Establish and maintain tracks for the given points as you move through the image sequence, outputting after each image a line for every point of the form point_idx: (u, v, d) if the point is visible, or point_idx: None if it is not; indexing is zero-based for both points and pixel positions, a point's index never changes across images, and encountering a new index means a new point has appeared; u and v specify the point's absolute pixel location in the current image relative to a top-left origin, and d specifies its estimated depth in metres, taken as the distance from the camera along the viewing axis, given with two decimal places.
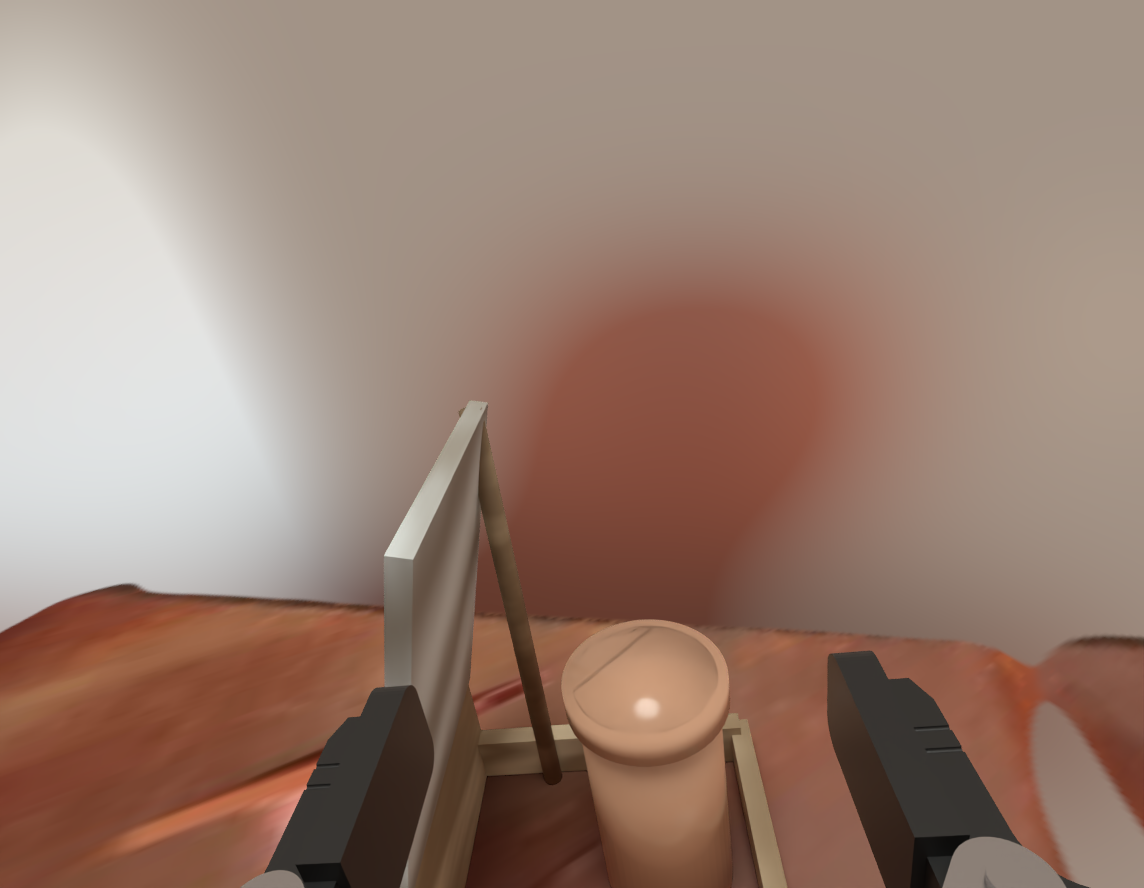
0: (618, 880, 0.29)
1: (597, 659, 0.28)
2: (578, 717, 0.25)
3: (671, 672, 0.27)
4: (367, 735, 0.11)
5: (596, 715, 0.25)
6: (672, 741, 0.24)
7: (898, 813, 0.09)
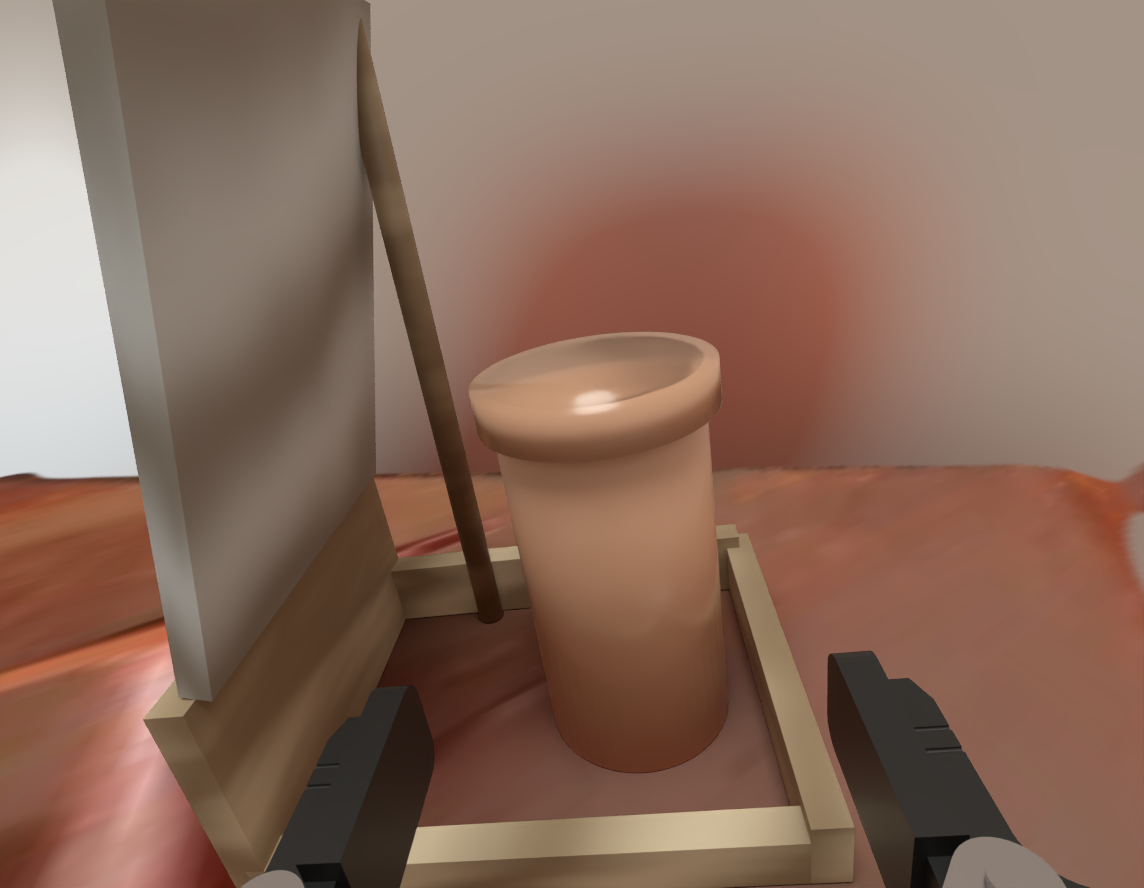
0: (562, 701, 0.20)
1: (528, 364, 0.19)
2: (487, 405, 0.16)
3: (634, 362, 0.18)
4: (367, 735, 0.11)
5: (514, 401, 0.16)
6: (627, 410, 0.15)
7: (898, 813, 0.09)
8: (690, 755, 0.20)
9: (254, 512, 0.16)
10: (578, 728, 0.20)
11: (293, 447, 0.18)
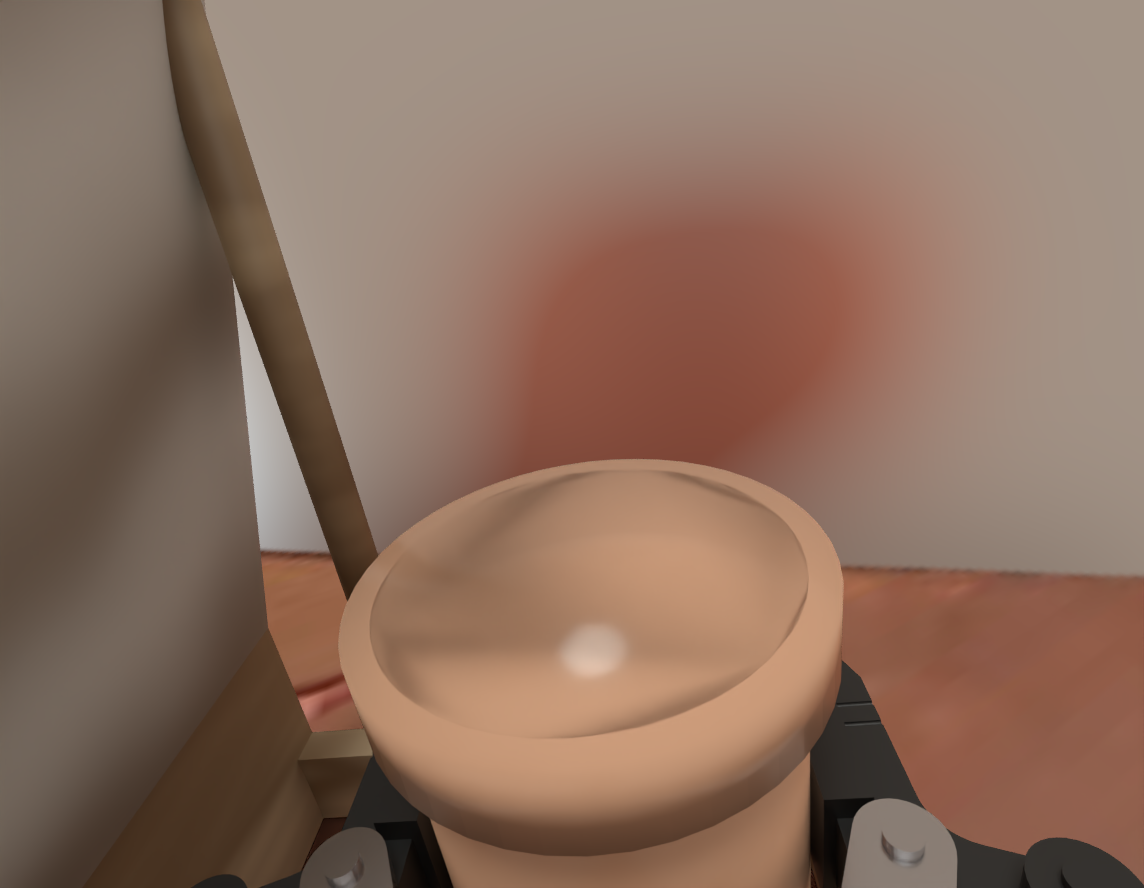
0: None
1: (469, 537, 0.10)
2: (359, 682, 0.08)
3: (665, 558, 0.09)
4: None
5: (416, 676, 0.08)
6: (662, 763, 0.06)
7: (814, 779, 0.10)
8: None
9: None
10: None
11: (18, 711, 0.10)
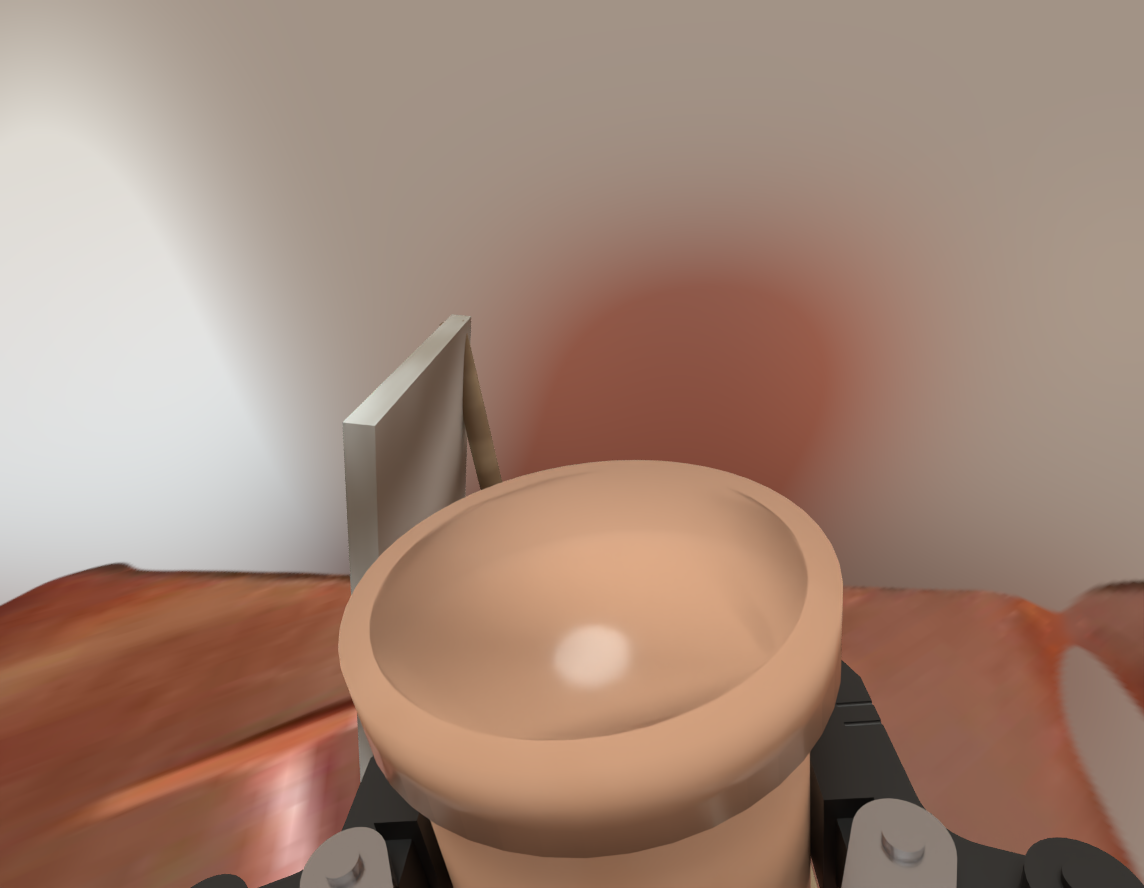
0: None
1: (468, 539, 0.10)
2: (359, 684, 0.08)
3: (665, 559, 0.09)
4: None
5: (416, 678, 0.08)
6: (662, 765, 0.06)
7: (814, 779, 0.10)
8: None
9: None
10: None
11: None
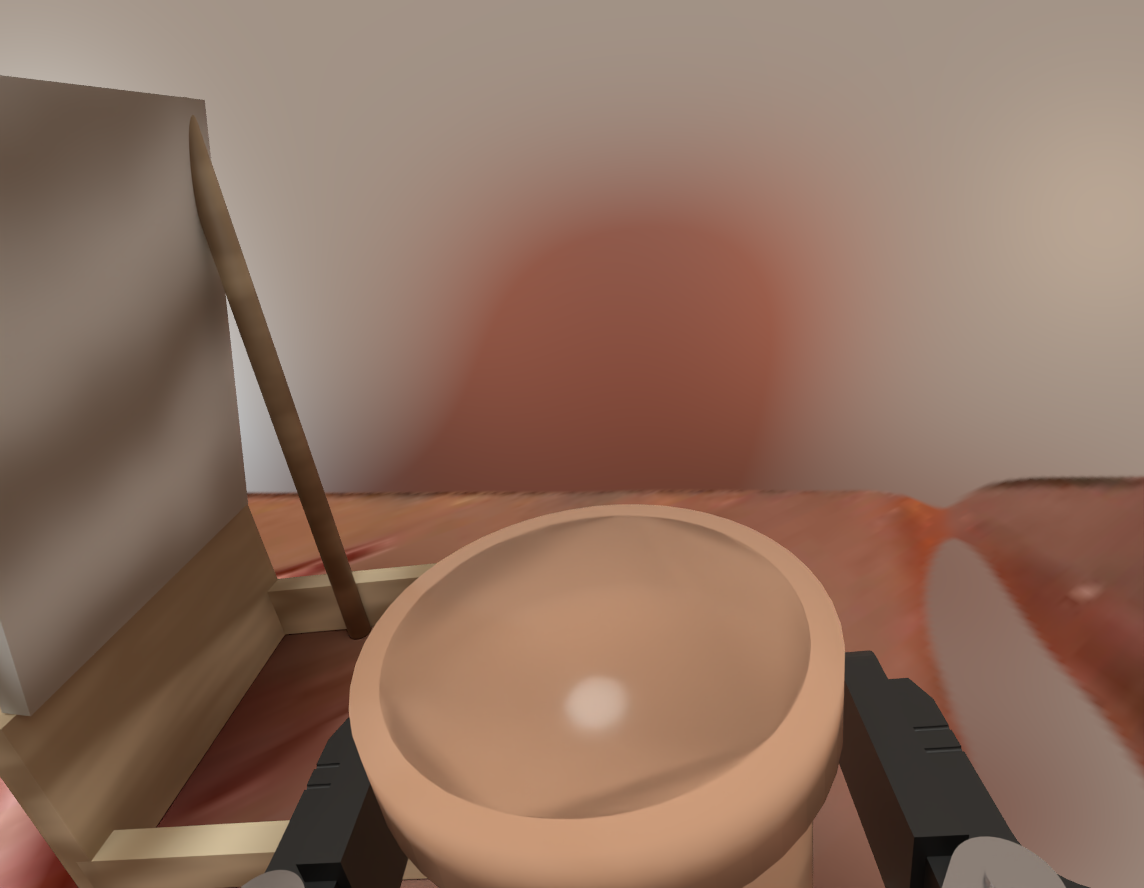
0: None
1: (475, 591, 0.11)
2: (370, 752, 0.08)
3: (669, 618, 0.09)
4: None
5: (426, 747, 0.08)
6: (668, 848, 0.06)
7: (897, 813, 0.09)
8: None
9: (75, 553, 0.19)
10: None
11: (125, 493, 0.21)
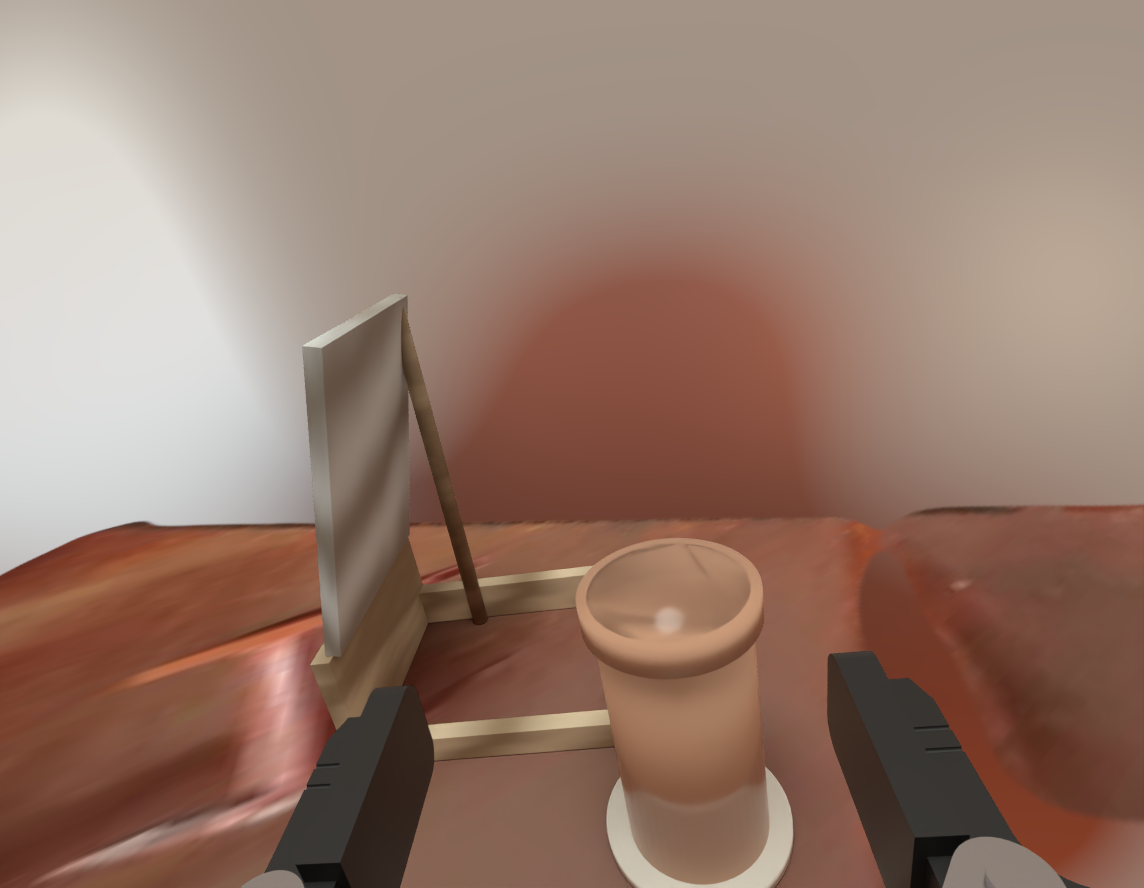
0: (642, 827, 0.26)
1: (615, 576, 0.25)
2: (595, 629, 0.23)
3: (698, 584, 0.24)
4: (367, 735, 0.11)
5: (615, 626, 0.23)
6: (700, 647, 0.21)
7: (898, 813, 0.09)
8: (742, 870, 0.26)
9: (357, 566, 0.34)
10: (654, 849, 0.26)
11: (372, 531, 0.36)
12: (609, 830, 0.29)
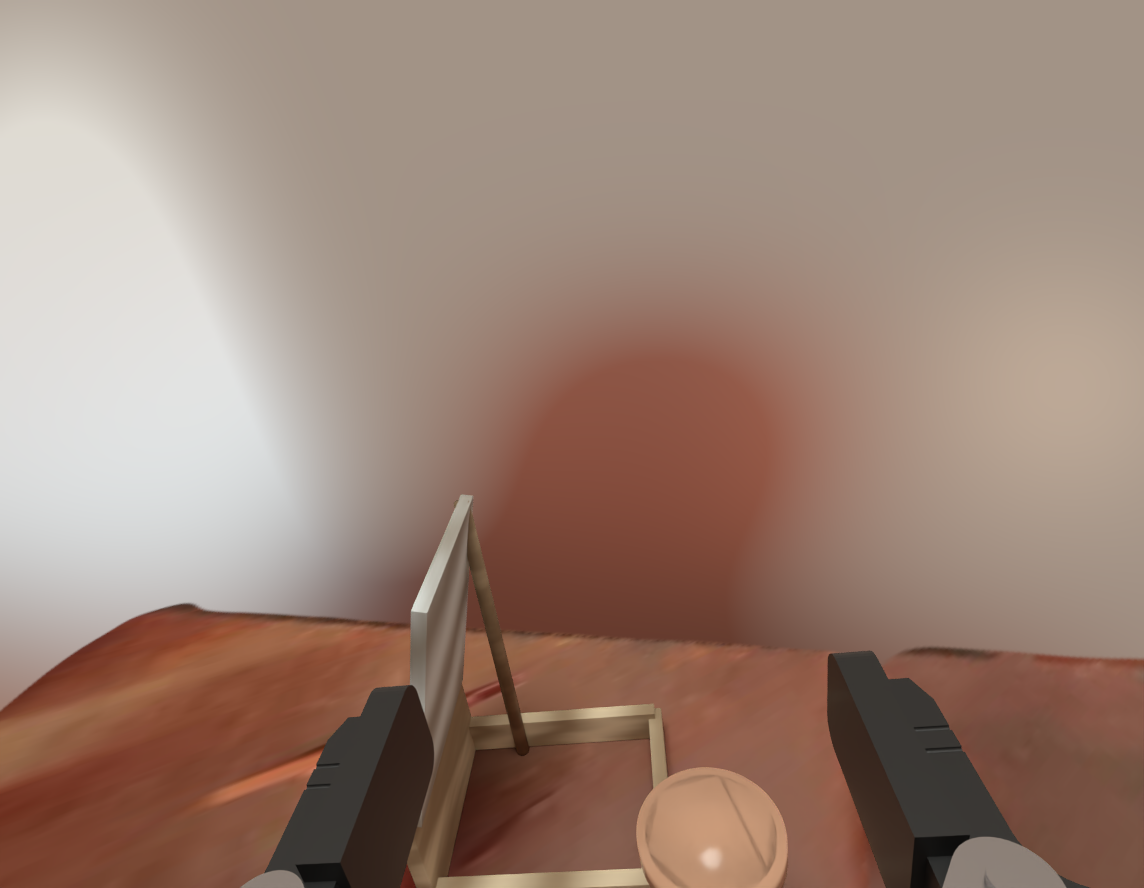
0: None
1: (666, 811, 0.31)
2: (656, 877, 0.29)
3: (735, 830, 0.30)
4: (367, 735, 0.11)
5: (671, 875, 0.29)
6: None
7: (898, 813, 0.09)
8: None
9: (434, 746, 0.40)
10: None
11: (443, 708, 0.42)
12: None
